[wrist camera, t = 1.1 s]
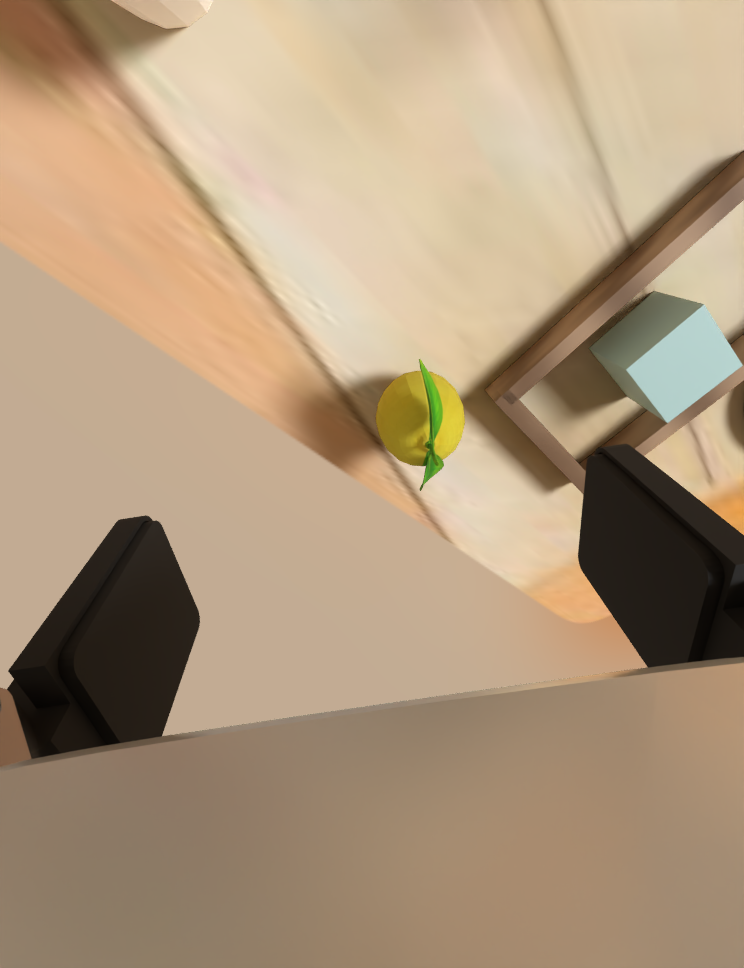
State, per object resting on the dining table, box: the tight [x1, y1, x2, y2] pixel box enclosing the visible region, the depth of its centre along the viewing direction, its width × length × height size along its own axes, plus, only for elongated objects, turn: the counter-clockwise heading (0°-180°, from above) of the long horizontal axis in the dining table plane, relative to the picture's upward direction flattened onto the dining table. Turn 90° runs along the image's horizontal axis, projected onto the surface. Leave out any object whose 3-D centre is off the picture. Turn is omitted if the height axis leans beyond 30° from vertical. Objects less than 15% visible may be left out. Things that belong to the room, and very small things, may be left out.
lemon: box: [376, 359, 465, 491], centre depth 29 cm, size 7×6×10 cm
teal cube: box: [589, 291, 743, 423], centre depth 31 cm, size 5×5×5 cm
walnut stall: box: [485, 151, 744, 494], centre depth 31 cm, size 19×11×2 cm, turn 136°
